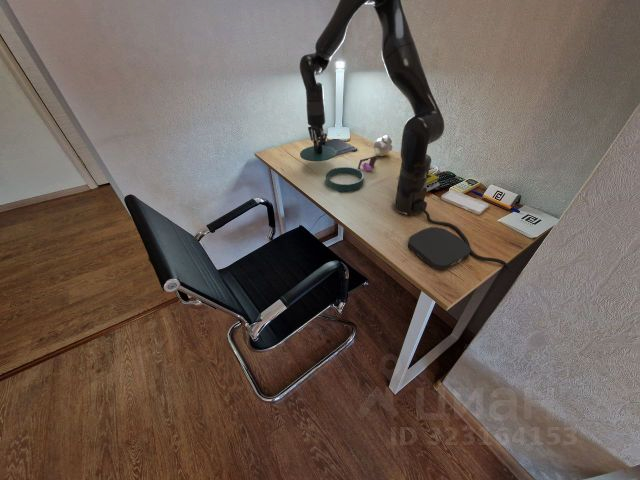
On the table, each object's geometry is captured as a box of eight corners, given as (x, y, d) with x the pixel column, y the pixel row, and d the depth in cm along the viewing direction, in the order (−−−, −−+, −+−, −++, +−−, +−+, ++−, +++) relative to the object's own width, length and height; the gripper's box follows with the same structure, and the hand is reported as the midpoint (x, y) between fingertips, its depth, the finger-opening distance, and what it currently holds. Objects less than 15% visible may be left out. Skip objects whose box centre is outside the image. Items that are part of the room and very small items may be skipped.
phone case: (488, 207, 96) (450, 192, 105) (489, 204, 95) (451, 189, 104) (478, 215, 93) (440, 199, 102) (480, 212, 92) (440, 196, 101)
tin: (370, 185, 112) (371, 177, 110) (338, 196, 107) (338, 188, 104) (349, 170, 123) (350, 163, 120) (319, 180, 117) (319, 173, 115)
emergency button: (427, 182, 103) (399, 169, 112) (425, 192, 106) (398, 178, 115) (443, 175, 106) (414, 163, 116) (440, 185, 109) (412, 172, 119)
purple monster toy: (376, 154, 119) (359, 158, 117) (382, 161, 117) (365, 166, 114) (372, 165, 125) (356, 170, 122) (377, 172, 123) (361, 177, 120)
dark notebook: (358, 147, 139) (334, 154, 133) (358, 150, 140) (334, 157, 135) (337, 136, 152) (315, 142, 147) (337, 139, 153) (315, 145, 148)
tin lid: (343, 156, 118) (343, 144, 114) (310, 166, 112) (309, 153, 109) (325, 144, 129) (324, 133, 126) (294, 153, 124) (292, 141, 120)
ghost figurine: (386, 160, 129) (388, 140, 122) (369, 156, 133) (370, 137, 127) (394, 154, 134) (397, 134, 127) (377, 150, 139) (379, 131, 132)
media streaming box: (435, 229, 88) (438, 222, 86) (473, 255, 78) (477, 248, 76) (402, 244, 83) (403, 237, 81) (438, 274, 73) (440, 267, 71)
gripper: (300, 110, 112) (304, 149, 124) (315, 117, 103) (318, 159, 114) (315, 106, 115) (318, 145, 126) (332, 114, 105) (333, 155, 117)
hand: (318, 152), depth 120 cm, fingers closed on tin lid, 2 cm apart
